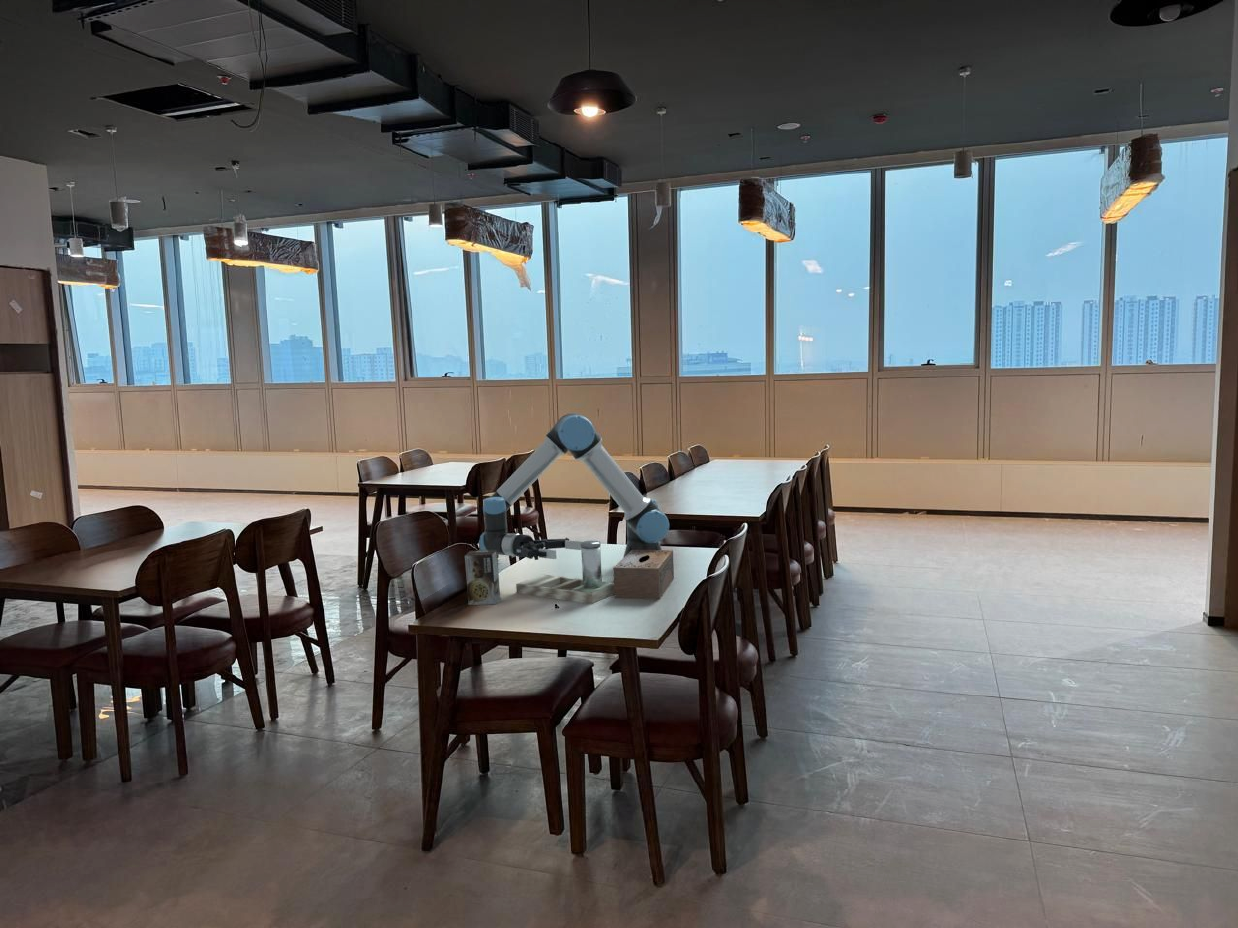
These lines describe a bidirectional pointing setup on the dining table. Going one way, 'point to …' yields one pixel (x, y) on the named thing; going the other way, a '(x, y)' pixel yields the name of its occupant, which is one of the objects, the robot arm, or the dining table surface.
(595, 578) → the canister
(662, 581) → the tissue box cover
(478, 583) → the coffee box
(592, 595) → the board
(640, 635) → the dining table surface
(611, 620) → the dining table surface
